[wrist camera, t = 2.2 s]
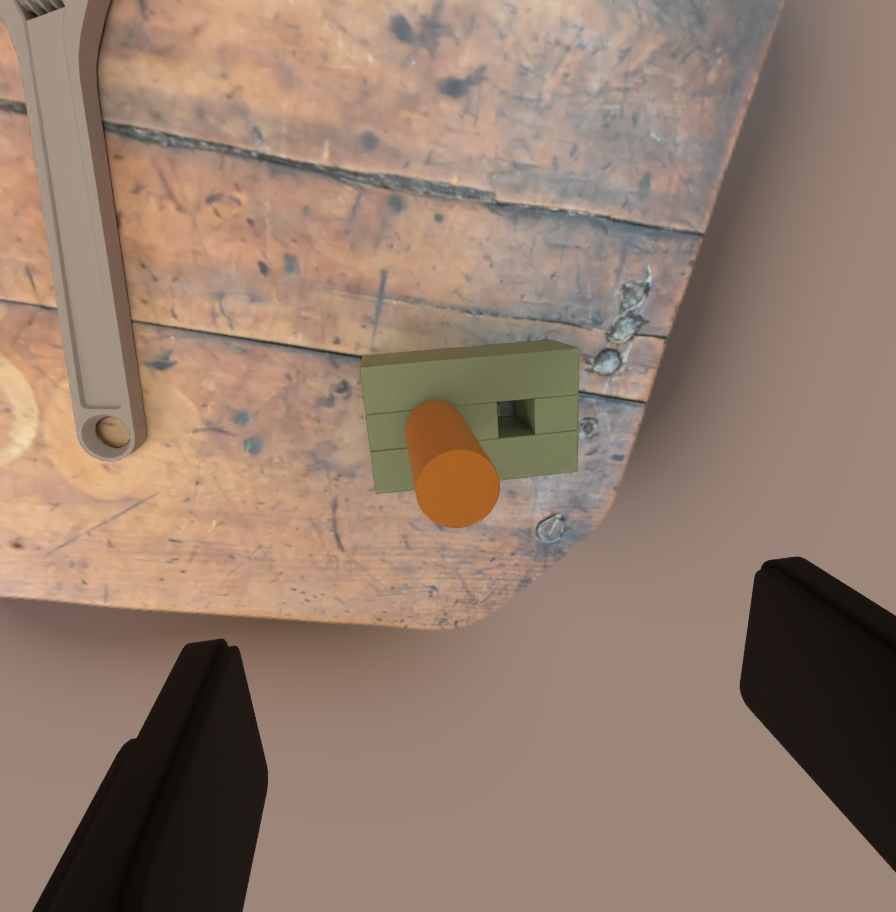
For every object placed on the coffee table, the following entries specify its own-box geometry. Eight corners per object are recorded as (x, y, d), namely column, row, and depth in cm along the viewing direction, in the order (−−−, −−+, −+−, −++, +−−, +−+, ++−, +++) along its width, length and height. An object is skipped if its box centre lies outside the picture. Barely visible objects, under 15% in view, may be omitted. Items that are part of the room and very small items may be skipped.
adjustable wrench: (152, 454, 27) (138, 465, 26) (16, 442, 26) (-8, 453, 25) (131, -164, 20) (108, -204, 18) (-61, -214, 19) (-103, -262, 17)
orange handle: (450, 380, 28) (498, 444, 17) (453, 430, 29) (501, 523, 18) (398, 384, 28) (412, 454, 17) (403, 435, 29) (419, 533, 17)
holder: (362, 355, 27) (360, 367, 23) (552, 339, 28) (579, 348, 24) (375, 467, 29) (375, 494, 25) (552, 448, 30) (577, 472, 26)
